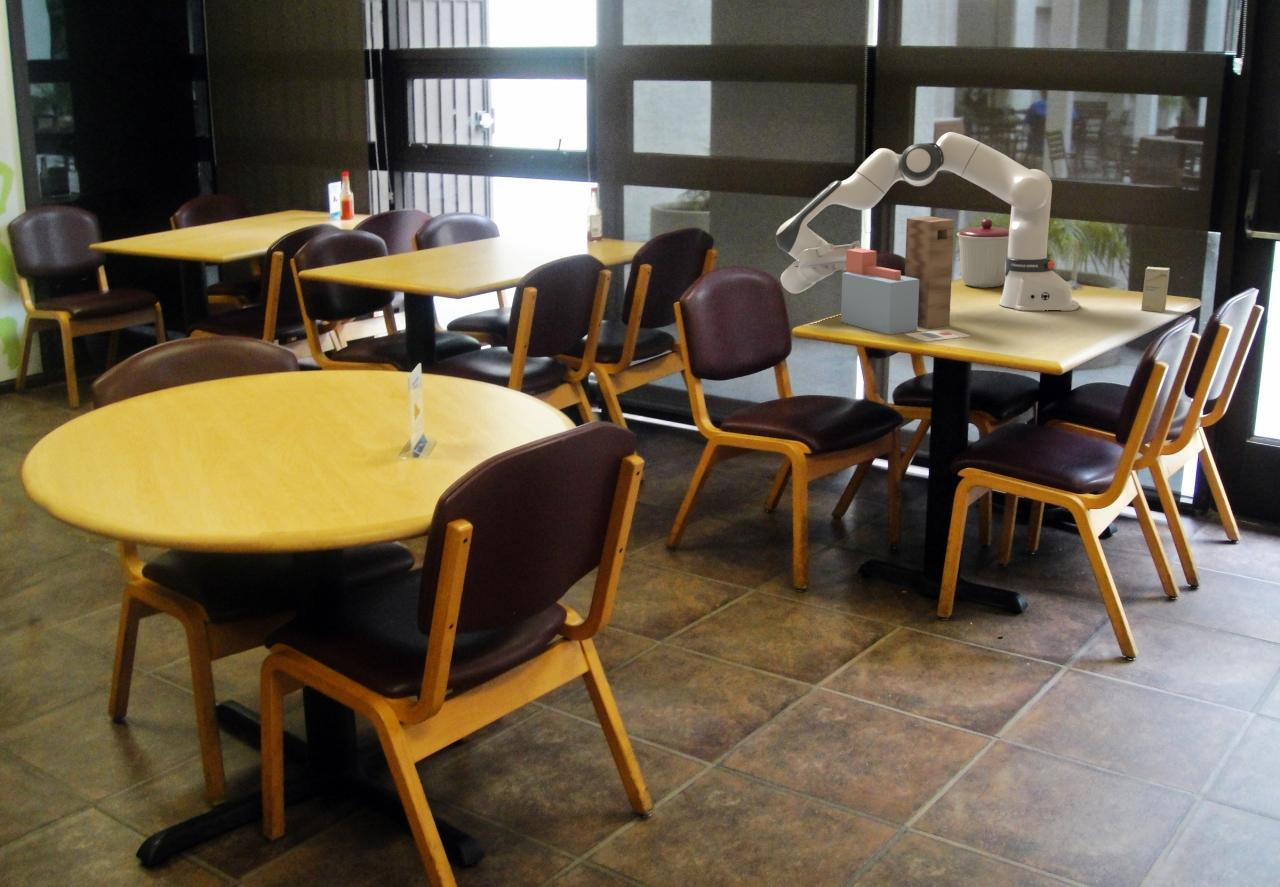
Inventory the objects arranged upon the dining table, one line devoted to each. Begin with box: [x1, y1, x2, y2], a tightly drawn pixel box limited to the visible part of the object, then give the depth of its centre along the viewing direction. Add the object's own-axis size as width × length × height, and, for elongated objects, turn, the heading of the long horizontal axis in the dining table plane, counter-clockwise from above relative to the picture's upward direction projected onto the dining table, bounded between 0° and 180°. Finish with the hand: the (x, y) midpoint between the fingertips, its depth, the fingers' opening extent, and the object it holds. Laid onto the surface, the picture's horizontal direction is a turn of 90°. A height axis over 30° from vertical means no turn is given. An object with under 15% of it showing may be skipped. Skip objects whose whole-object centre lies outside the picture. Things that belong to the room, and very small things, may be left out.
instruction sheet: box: [904, 328, 971, 342], centre depth 367 cm, size 10×14×1 cm
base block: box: [840, 271, 919, 335], centre depth 378 cm, size 20×10×14 cm, turn 30°
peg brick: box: [845, 247, 902, 280], centre depth 377 cm, size 19×5×6 cm, turn 30°
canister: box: [956, 218, 1009, 288], centre depth 436 cm, size 18×18×21 cm
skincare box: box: [1140, 266, 1171, 313], centre depth 393 cm, size 6×4×12 cm
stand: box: [904, 215, 955, 329], centre depth 377 cm, size 10×8×29 cm
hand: (844, 244), depth 387 cm, fingers open, 8 cm apart
